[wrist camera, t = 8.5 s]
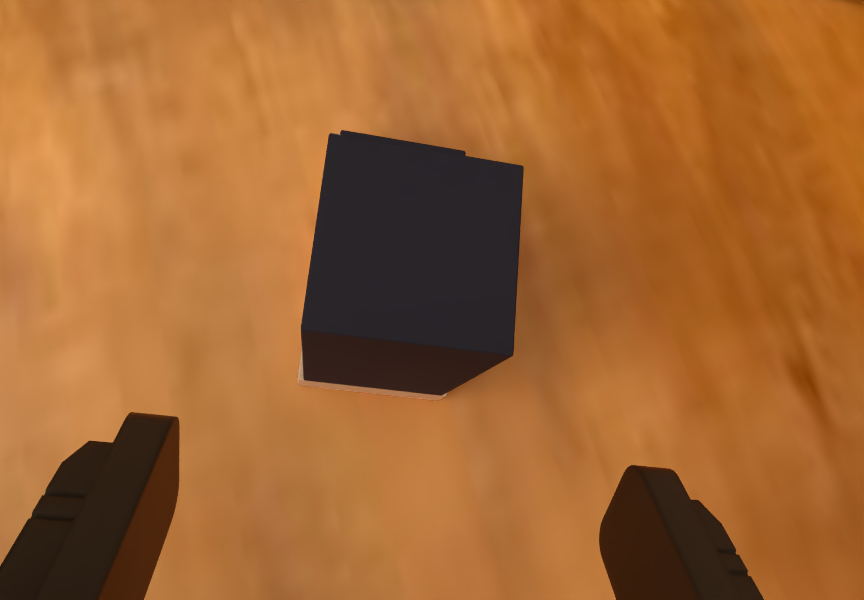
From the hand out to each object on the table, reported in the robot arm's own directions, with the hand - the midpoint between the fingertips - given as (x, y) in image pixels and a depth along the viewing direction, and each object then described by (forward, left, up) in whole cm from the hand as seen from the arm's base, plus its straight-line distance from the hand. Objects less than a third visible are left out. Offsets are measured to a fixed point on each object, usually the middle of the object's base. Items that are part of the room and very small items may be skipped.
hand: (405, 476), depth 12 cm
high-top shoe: (+4, +6, -11) cm, 13 cm away
